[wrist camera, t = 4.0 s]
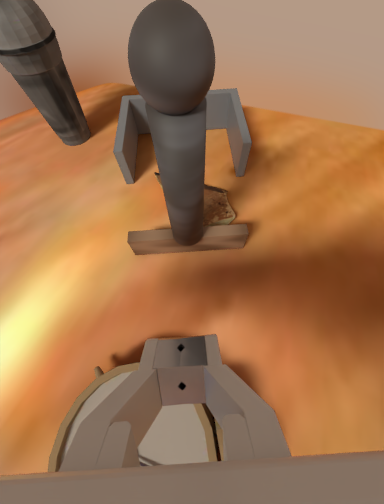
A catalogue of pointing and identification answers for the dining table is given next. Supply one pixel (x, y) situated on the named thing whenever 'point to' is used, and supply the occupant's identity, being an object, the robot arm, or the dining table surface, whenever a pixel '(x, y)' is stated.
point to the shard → (213, 206)
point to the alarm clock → (159, 434)
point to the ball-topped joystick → (177, 123)
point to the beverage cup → (40, 68)
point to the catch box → (217, 117)
